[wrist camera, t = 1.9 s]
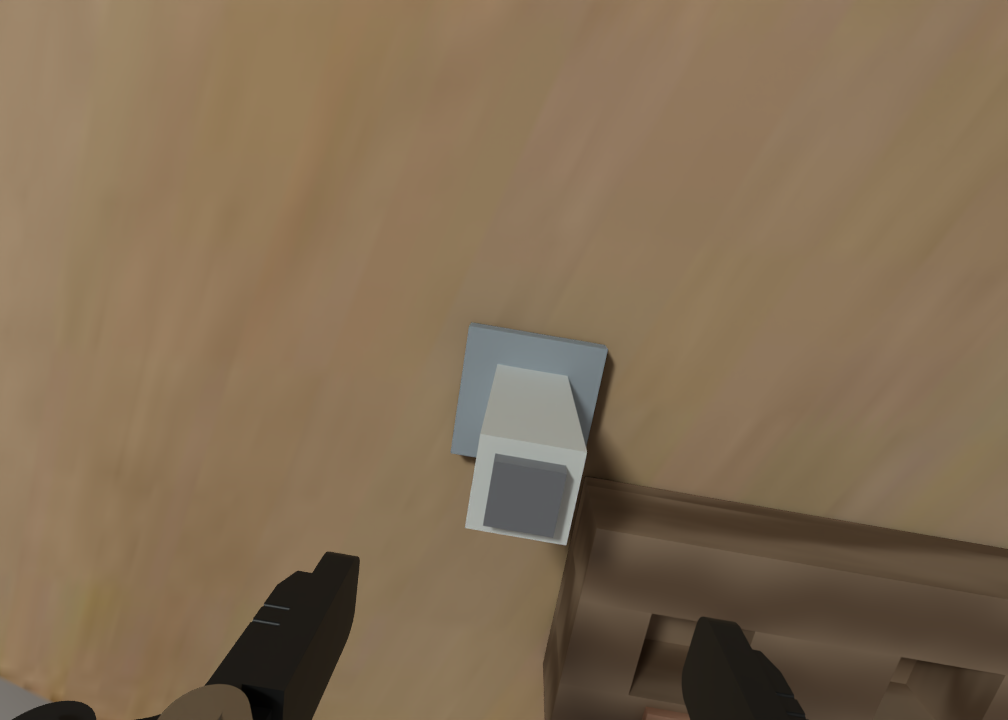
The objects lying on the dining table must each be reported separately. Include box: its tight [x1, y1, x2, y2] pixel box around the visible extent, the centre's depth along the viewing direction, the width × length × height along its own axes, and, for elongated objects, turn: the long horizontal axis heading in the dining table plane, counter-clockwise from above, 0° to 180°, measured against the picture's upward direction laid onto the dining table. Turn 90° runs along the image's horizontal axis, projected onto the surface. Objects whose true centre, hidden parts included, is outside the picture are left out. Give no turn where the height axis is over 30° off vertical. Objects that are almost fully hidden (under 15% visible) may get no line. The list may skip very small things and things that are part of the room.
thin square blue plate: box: [451, 322, 608, 457], centre depth 26 cm, size 7×7×1 cm
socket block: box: [543, 476, 1008, 720], centre depth 27 cm, size 13×24×5 cm, turn 81°
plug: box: [465, 364, 587, 545], centre depth 21 cm, size 4×4×10 cm
